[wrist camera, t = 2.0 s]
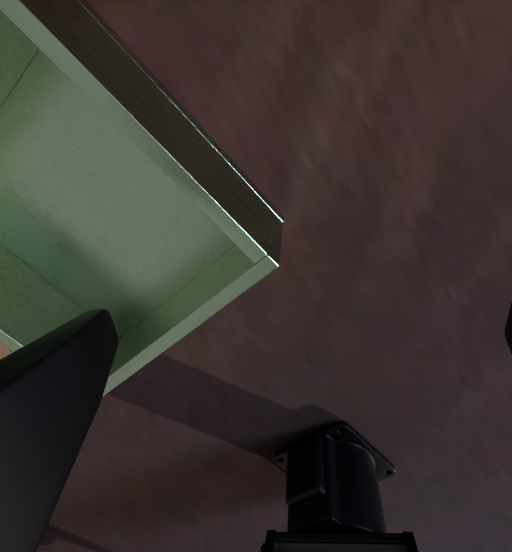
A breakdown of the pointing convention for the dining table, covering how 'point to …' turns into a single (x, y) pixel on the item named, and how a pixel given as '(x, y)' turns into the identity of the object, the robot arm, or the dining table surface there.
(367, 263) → the dining table surface
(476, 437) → the dining table surface
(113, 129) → the warming box
